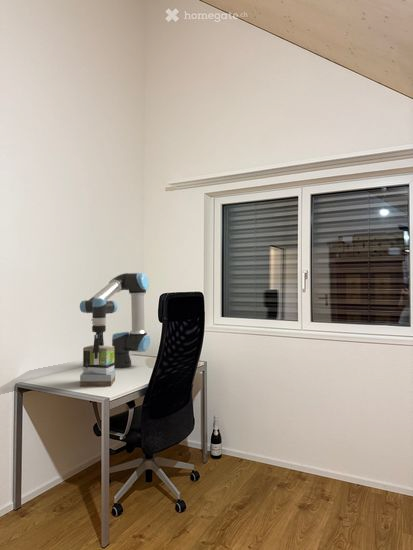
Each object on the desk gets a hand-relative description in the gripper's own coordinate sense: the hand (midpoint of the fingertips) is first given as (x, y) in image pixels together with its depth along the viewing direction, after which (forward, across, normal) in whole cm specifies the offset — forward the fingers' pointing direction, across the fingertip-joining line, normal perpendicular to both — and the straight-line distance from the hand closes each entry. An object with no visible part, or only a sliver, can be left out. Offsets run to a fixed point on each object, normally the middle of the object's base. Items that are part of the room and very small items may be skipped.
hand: (98, 362), depth 228 cm
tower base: (+13, 0, 0) cm, 13 cm away
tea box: (+6, 0, 0) cm, 6 cm away
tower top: (+9, 0, 0) cm, 9 cm away
